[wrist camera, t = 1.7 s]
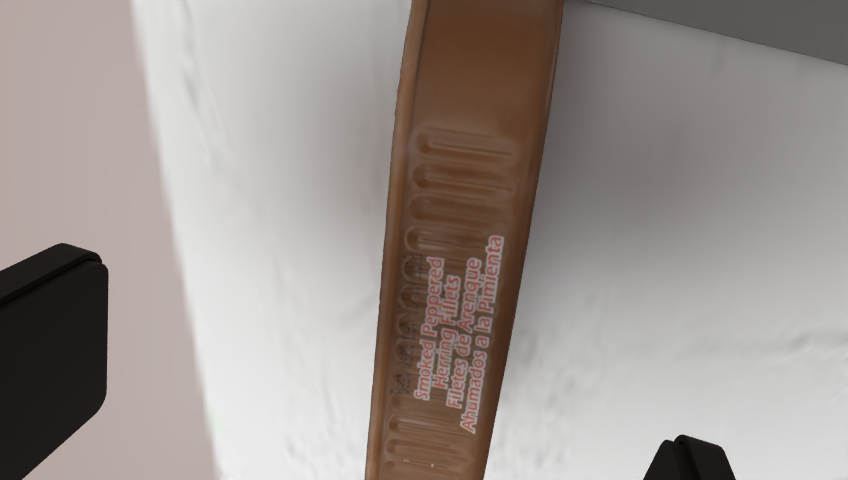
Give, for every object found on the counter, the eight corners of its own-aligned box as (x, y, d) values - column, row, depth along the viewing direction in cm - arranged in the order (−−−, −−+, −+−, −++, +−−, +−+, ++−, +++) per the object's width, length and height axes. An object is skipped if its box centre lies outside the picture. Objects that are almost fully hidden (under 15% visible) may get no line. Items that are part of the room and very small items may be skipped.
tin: (464, -70, 16) (371, -135, 8) (581, -59, 16) (596, -117, 8) (412, 383, 22) (330, 587, 14) (496, 402, 22) (457, 623, 14)
